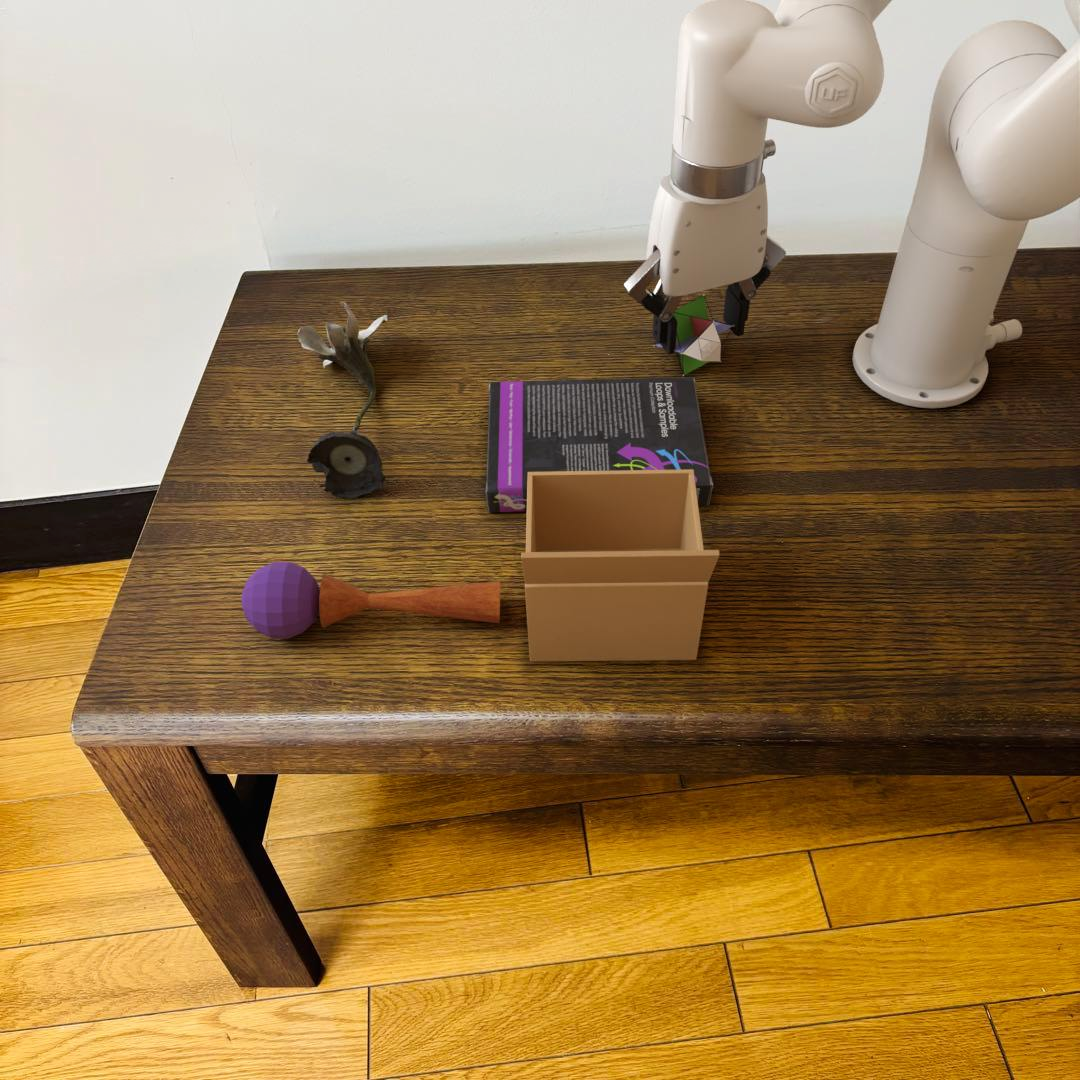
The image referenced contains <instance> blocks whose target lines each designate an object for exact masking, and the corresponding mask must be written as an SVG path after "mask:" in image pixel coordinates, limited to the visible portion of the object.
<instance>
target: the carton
mask: <svg viewBox="0 0 1080 1080" xmlns="http://www.w3.org/2000/svg"><path fill="white" fill-rule="evenodd" d="M525 522H526V524H525V525H526V527H525V552H595V551H674V550H705V549H704V541H703V533H702V526H701V525H702V524H701V516H700V508H699V506H698V500H697V493H696V485H695V477H694V470H693V469H688V470H621V471H554V472H528V479H527V511H526V521H525ZM708 588H709V582H663V583H577V584H525V583H524V594H525V596H524V597H525V608H526V609H525V610H526V625H527V639H528V651H529V662H609V661H610V662H613V661H614V662H615V661H617V662H620V661H621V662H623V661H625V662H626V661H627V662H628V661H633V662H634V661H696V660H698V659H697V658H698V651H699V646H700V638H701V633H702V626H703V620H704V614H705V607H706V600H707V595H708Z"/></svg>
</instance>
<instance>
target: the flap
mask: <svg viewBox="0 0 1080 1080" xmlns="http://www.w3.org/2000/svg"><path fill="white" fill-rule="evenodd" d="M520 558H521V567H522V572H523V579H524V585H525V584H577V583H663V582H708V583H709V582H710V579H711V578H712V575H713V572H714V570H715V567H716V565H717V562H718V561H719V558H720V550H719V549H704V550H674V551H595V552H526V551H523V552H520Z"/></svg>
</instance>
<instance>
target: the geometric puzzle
mask: <svg viewBox="0 0 1080 1080" xmlns="http://www.w3.org/2000/svg"><path fill="white" fill-rule="evenodd" d="M707 308H708V309H707ZM708 311H709V314H710V316H711V319H709V315H708ZM673 315H674V317H675V318H676V320H677V335H676V348H675V350H674V353H676V357H677V361H678V363H679V366H680V367H679V368H681V374H682V377H685V376H687V375H689V374H692V373H694V372H697V371H700V370H703V369H705V368H708V367H709V365H708V366H705V367H704V365H707V364H708V363H710V362H711V363H713V362H714V363H713V364H711V366H713V365H716V364H718V363H722V358H723V355H724V354H722V347H723V346H724V344H725V342H726V340H727V339H728V340H727V342H726V344H728V343H729V340H730V339H729V338H728V337H729V336H730V334H731V333H733V332H732V329H730V327H732V326H733V327H734V325H733V324H732V323H731V322H730V321H729V320H728V319H727V318H726V317H725V318H726V319H727V320H728V321H729V322H730V323H731V324H732V325H730V324H726V323H725V322H721V321H717V320H714V318H713V315H712V312H711V310H710V307H709V303H708V300H707V297H706V294H705V293H704V294H703V295H700V296H699V297H697V298H694V299H692V300H689V301H686V302H685V303H683V304H679V305H678V307H677V309H676V311H675V312H674V314H673ZM733 327H732V328H733ZM729 329H730V331H729V332H728V334H727V335H726V338H725V339H724V341H723V343H722V341H721V339H720V336H719V334H721V333H723V332H725V331H727V330H729ZM653 347H654V348H660V349H663V347H662V346H661V344H657V343H656V341H655V343H654V345H653ZM726 348H727V346H725V348H724V350H723V352H725V350H726ZM721 355H722V356H721ZM701 367H702V368H701ZM698 368H700V369H698Z"/></svg>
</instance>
